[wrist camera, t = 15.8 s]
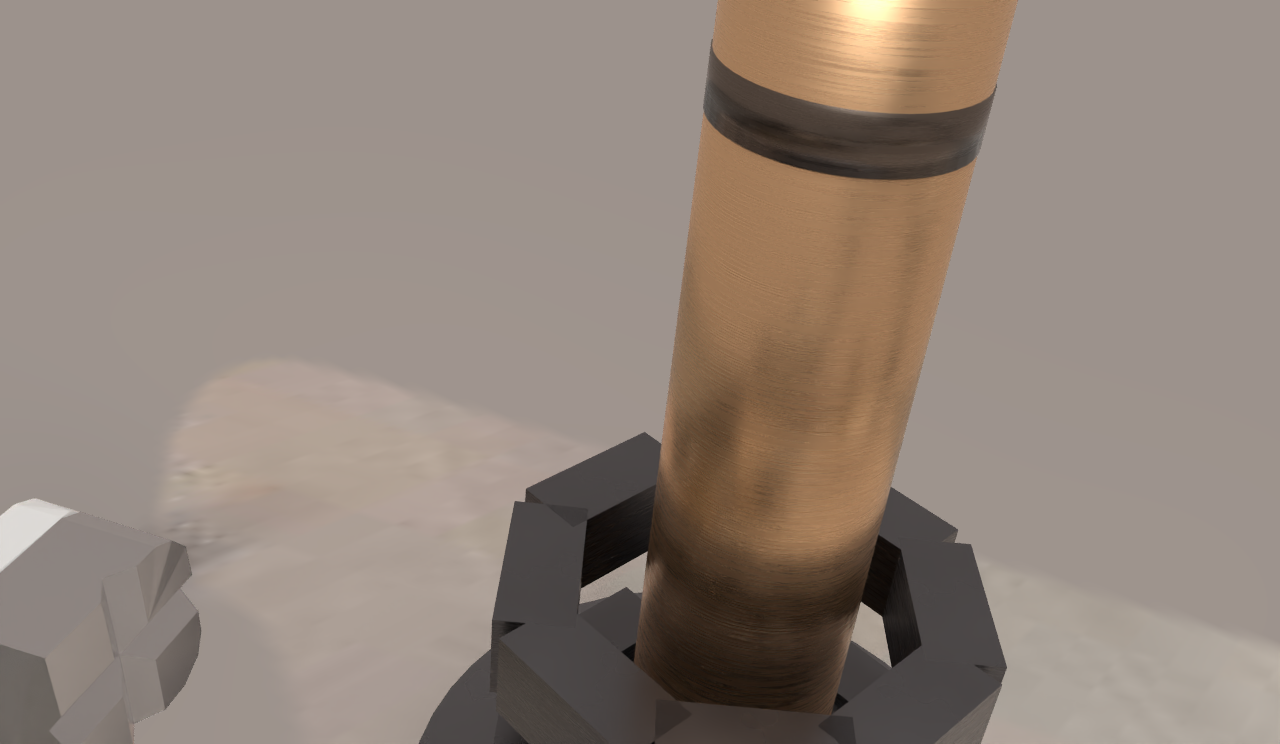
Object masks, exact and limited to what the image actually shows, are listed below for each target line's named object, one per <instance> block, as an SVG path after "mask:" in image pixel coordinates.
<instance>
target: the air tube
mask: <svg viewBox="0 0 1280 744" xmlns="http://www.w3.org/2000/svg"><path fill="white" fill-rule="evenodd" d="M1017 2H1018V0H718V4H717V12H716V19H715V28H714V35H713V39H712V42H711V49H710V56H709V65H708V72H707V80H706V88H705V96H704V104H703V109H704V114H703V122H702V130H701V137H700V145H699V153H698V161H697V169H696V177H695V185H694V192H693V200H692V208H691V216H690V224H689V232H688V240H687V247H686V255H685V263H684V272H683V279H682V287H681V295H680V303H679V311H678V318H677V326H676V334H675V342H674V350H673V358H672V365H671V373H670V381H669V390H668V397H667V405H666V413H665V421H664V428H663V436H662V444H661V452H660V460H659V468H658V476H657V483H656V491H655V499H654V507H653V515H652V523H651V531H650V538H649V546H648V554H647V562H646V570H645V578H644V586H643V593H642V601H641V609H640V617H639V625H638V633H637V641H636V649H635V656H634V664H636V665H637V666H638V667H639V668H640V669H641V670H643V671H644V672H645V673H646V674H647V675H648V676H649V677H651V678H652V679H653V680H654V681H655V682H656V683H657V684H659V685H660V686H661V687H662V688H663V689H664V690H665V691H667V692H668V693H669V694H670V695H671V696H672V697H673V698H675V699H676V700H677V701H682V702H693V703H704V704H715V705H726V706H737V707H748V708H759V709H770V710H781V711H792V712H803V713H814V714H825V715H831V713H832V710H833V706H834V702H835V698H836V694H837V690H838V687H839V683H840V679H841V675H842V671H843V668H844V664H845V660H846V656H847V652H848V648H849V645H850V641H851V637H852V633H853V629H854V625H855V622H856V618H857V614H858V610H859V606H860V602H861V599H862V595H863V591H864V587H865V583H866V580H867V576H868V572H869V568H870V564H871V560H872V557H873V553H874V549H875V545H876V541H877V537H878V534H879V530H880V526H881V522H882V518H883V515H884V511H885V507H886V503H887V499H888V495H889V492H890V488H891V484H892V480H893V476H894V472H895V469H896V464H897V461H898V457H899V453H900V449H901V446H902V442H903V438H904V434H905V430H906V426H907V423H908V418H909V415H910V411H911V407H912V404H913V400H914V396H915V392H916V388H917V384H918V380H919V377H920V373H921V369H922V365H923V361H924V358H925V354H926V350H927V346H928V342H929V339H930V335H931V331H932V327H933V323H934V319H935V316H936V312H937V308H938V304H939V300H940V296H941V292H942V288H943V285H944V281H945V277H946V273H947V269H948V266H949V262H950V258H951V254H952V251H953V246H954V243H955V239H956V235H957V231H958V228H959V224H960V220H961V216H962V212H963V208H964V205H965V201H966V197H967V193H968V189H969V186H970V182H971V178H972V174H973V170H974V166H975V162H976V158H977V155H978V153H979V151H980V149H981V145H982V141H983V137H984V133H985V130H986V126H987V122H988V118H989V114H990V110H991V107H992V103H993V99H994V95H995V91H996V88H997V84H996V82H997V78H998V75H999V71H1000V67H1001V63H1002V59H1003V55H1004V51H1005V48H1006V44H1007V40H1008V36H1009V32H1010V29H1011V25H1012V21H1013V17H1014V13H1015V10H1016V6H1017Z"/></svg>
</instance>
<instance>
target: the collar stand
mask: <svg viewBox="0 0 1280 744" xmlns="http://www.w3.org/2000/svg"><path fill="white" fill-rule="evenodd" d="M660 452H661V443H659V442H658V441H657V440H655V439H654V438H652V437H651V436H649V435H648V434H647V433H645V432H644V433H642V434H640V435H638V436H636V437H633V438H631V439H630V440H627V441H625V442H623V443H621V444H619V445H617V446H615V447H612V448H610V449H608V450H606V451H604V452H602V453H600V454H598V455H596V456H594V457H592V458H589V459H587V460H585V461H583V462H581V463H579V464H577V465H575V466H573V467H571V468H568V469H566V470H564V471H562V472H560V473H558V474H556V475H554V476H552V477H550V478H548V479H545V480H543V481H541V482H539V483H537V484H535V485H533V486H531V487H529V488H527V489H526V498H525V502H517V501H515V503H514V508H513V513H512V519H511V524H510V529H509V534H508V540H507V545H506V550H505V555H504V561H503V566H502V571H501V576H500V582H499V587H498V592H497V597H496V603H495V608H494V613H493V618H492V639H491V649H490V650H489V651H488V652H487V653H486V654H484V655H483V656H482V657H481V658H480V659H479V660H477V661H476V662H475V663H474V664H473V665H471V667H470V668H469V669H468V670H467V671H466V672H465V673H464V674H463V675H462V676H461V677H460V679H459V680H458V681H457V682H456V683H455V684H454V685H453V686H452V687H451V689H450V690H449V691H448V693H447V694H446V696H445V697H444V699H443V700H442V702H441V703H440V705H439V706H438V707H437V709H436V710H435V712H434V713H433V715H432V717H431V719H430V721H429V723H428V725H427V727H426V729H425V732H424V734H423V736H422V738H421V740H420V742H419V744H981V741H982V738H983V736H984V733H985V730H986V727H987V725H988V722H989V719H990V717H991V714H992V711H993V708H994V706H995V703H996V700H997V698H998V695H999V692H1000V689H1001V687H1002V684H1001V682H1002V679H1003V677H1004V674H1005V671H1006V669H1007V666H1006V663H1005V659H1004V656H1003V652H1002V649H1001V646H1000V642H999V639H998V635H997V632H996V629H995V625H994V622H993V618H992V615H991V611H990V608H989V605H988V601H987V598H986V594H985V591H984V587H983V584H982V581H981V577H980V574H979V570H978V567H977V564H976V560H975V557H974V553H973V550H972V547H971V544H961V543H954V542H955V539H956V536H957V532H958V529H956V528H955V527H953V526H952V525H950V524H948V523H947V522H945V521H943V520H942V519H940V518H939V517H937V516H936V515H934V514H933V513H931V512H929V511H928V510H926V509H925V508H923V507H922V506H920V505H919V504H917V503H915V502H914V501H912V500H911V499H909V498H908V497H906V496H904V495H903V494H901V493H900V492H898V491H896V490H895V489H893V488H892V487H891V488H890V492H889V495H888V499H887V503H886V507H885V511H884V515H883V518H882V522H881V526H880V530H879V534H878V537H877V541H876V545H875V549H874V553H873V557H872V560H871V564H870V568H869V572H868V576H867V580H866V583H865V587H864V591H863V595H862V599H861V602H863V603H864V604H865V605H867V606H868V607H870V608H871V609H872V610H874V611H875V612H877V613H878V614H879V615H881V616H882V617H883V623H884V628H885V633H886V639H887V644H888V650H889V655H890V660H891V666H892V668H891V667H890V666H888V665H887V664H886V663H885V662H883V661H882V660H880V659H879V658H877V657H876V656H874V655H873V654H871V653H870V652H868V651H867V650H865V649H864V648H862V647H861V646H859V645H858V644H856V643H855V642H853V641H850V645H849V648H848V652H847V656H846V660H845V664H844V668H843V671H842V675H841V679H840V683H839V687H838V690H837V694H836V698H835V702H834V706H833V710H832V713H831V715H825V714H814V713H803V712H792V711H781V710H770V709H759V708H748V707H737V706H726V705H715V704H704V703H693V702H682V701H677V700H676V699H675V698H673V697H672V696H671V695H670V694H669V693H668V692H667V691H665V690H664V689H663V688H662V687H661V686H660V685H659V684H657V683H656V682H655V681H654V680H653V679H652V678H651V677H649V676H648V675H647V674H646V673H645V672H644V671H643V670H641V669H640V668H639V667H638V666H637V665H636V664H634V656H635V649H636V641H637V633H638V625H639V617H640V609H641V601H642V593H633V592H632V591H631V590H629V589H628V588H627V587H626V588H624V589H622V590H620V591H619V592H617V593H615V594H613V595H612V596H610V597H607V598H603V599H599V600H595V601H591V602H587V603H583V604H579V600H580V591H581V588H583V587H584V586H586V585H588V584H590V583H592V582H593V581H595V580H597V579H599V578H601V577H602V576H604V575H606V574H608V573H609V572H611V571H613V570H615V569H617V568H618V567H620V566H622V565H624V564H626V563H627V562H629V561H631V560H633V559H634V558H636V557H638V556H640V555H642V554H643V553H645V552H647V551H648V546H649V538H650V531H651V523H652V515H653V507H654V499H655V491H656V483H657V476H658V468H659V460H660Z"/></svg>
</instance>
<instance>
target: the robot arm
mask: <svg viewBox="0 0 1280 744" xmlns="http://www.w3.org/2000/svg"><path fill="white" fill-rule="evenodd" d="M191 575H192V572H191V567H190V563H189V559H188V554H187V550H186V547H185V546H183V545H181V544H178V543H176V542H174V541H172V540H168V539H165V538H162V537H159V536H156V535H153V534H149V533H146V532H143V531H140V530H137V529H134V528H130V527H127V526H124V525H121V524H118V523H115V522H112V521H108V520H105V519H102V518H99V517H95V516H93V515H89V514H86V513H83V512H78V511H75V510H72V509H68V508H65V507H62V506H59V505H55V504H52V503H49V502H46V501H42V500H39V499H36V498H34V499H30V500H27V501H24V502H20V503H17V504H14V505H13V506H12V507H11V508H9V509H8V510H7V511H6V512H5V513H3V514H2V515H1V516H0V744H134V724H135V723H137V722H139V721H141V720H144V719H146V718H148V717H150V716H152V715H155V714H157V713H159V712H161V711H164V710H165V709H166V708H167V706H169V704H170V703H171V702H172V701H173V699H174V698H175V697H176V696H177V694H178V693H179V692H180V691H181V689H182V688H183V687H184V685H185V683H186V681H187V679H188V677H189V674H190V672H191V670H192V668H193V665H194V663H195V661H196V659H197V656H198V651H199V644H200V636H201V627H200V620H199V613H198V610H197V609H196V607H195V606H194V605H193V604H192V602H191V601H190V600H189V598H188V597H187V596H186V595H185V593H184V592H183V591H182V590H181V587H182V585H183V584H184V583H185V582H186V581H187V580H188V579H189V577H190V576H191Z"/></svg>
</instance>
